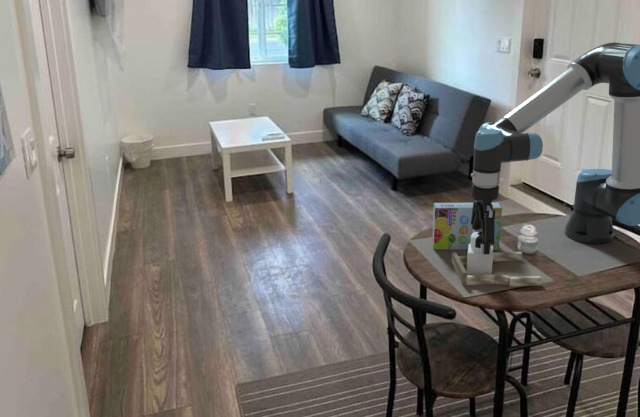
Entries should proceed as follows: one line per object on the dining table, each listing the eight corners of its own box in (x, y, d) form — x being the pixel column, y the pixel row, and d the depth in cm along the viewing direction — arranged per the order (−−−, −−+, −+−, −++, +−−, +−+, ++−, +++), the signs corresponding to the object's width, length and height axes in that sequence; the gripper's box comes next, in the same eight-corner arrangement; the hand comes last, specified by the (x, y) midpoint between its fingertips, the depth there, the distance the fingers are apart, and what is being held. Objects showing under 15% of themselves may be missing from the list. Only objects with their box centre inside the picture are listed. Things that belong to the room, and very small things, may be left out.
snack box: (495, 243, 190) (499, 201, 185) (498, 251, 185) (502, 208, 180) (431, 243, 193) (433, 201, 187) (433, 250, 187) (434, 207, 182)
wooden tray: (520, 258, 179) (521, 247, 178) (540, 285, 163) (542, 273, 161) (450, 261, 179) (450, 249, 178) (463, 288, 163) (464, 275, 162)
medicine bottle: (491, 266, 173) (494, 230, 169) (491, 277, 167) (494, 239, 162) (467, 264, 175) (469, 228, 171) (466, 274, 169) (468, 237, 164)
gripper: (463, 173, 171) (459, 241, 179) (482, 197, 151) (477, 273, 159) (488, 172, 171) (482, 241, 179) (510, 196, 151) (503, 272, 159)
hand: (480, 256), depth 169 cm, fingers closed on medicine bottle, 8 cm apart
